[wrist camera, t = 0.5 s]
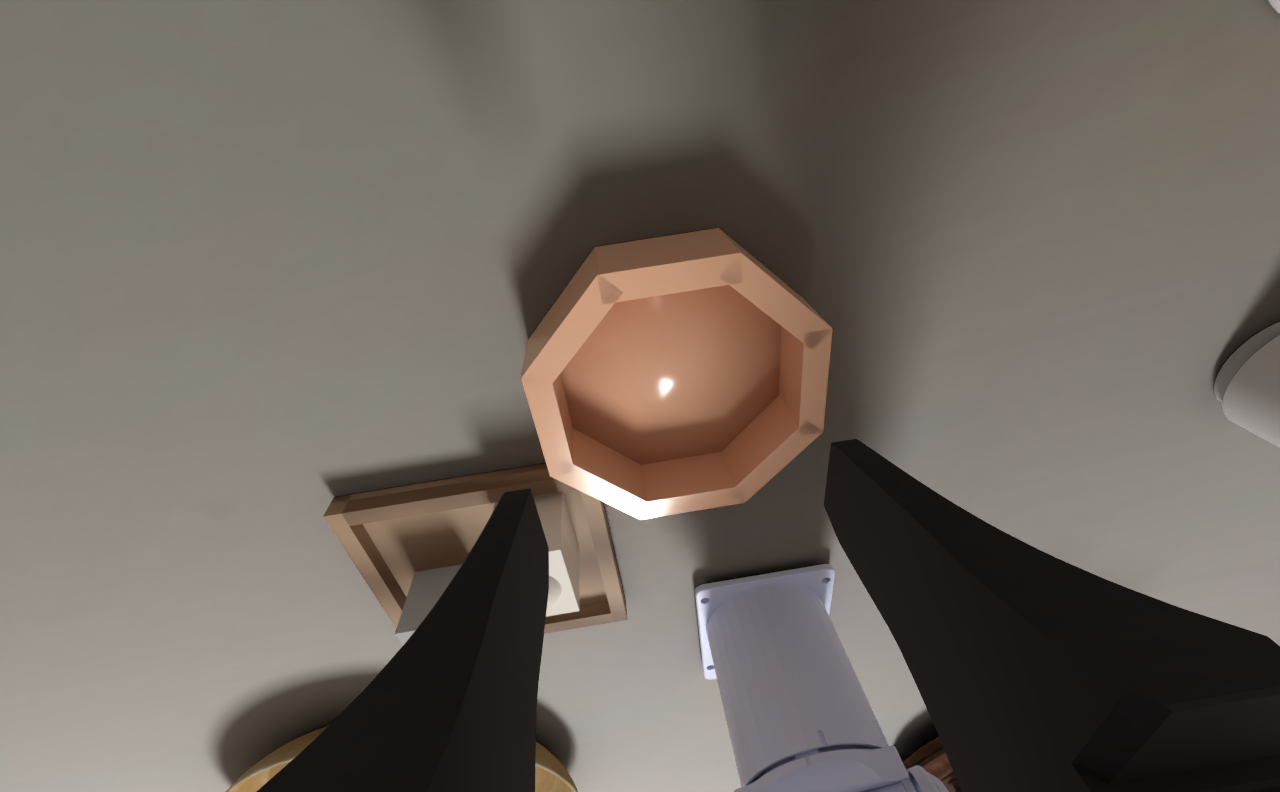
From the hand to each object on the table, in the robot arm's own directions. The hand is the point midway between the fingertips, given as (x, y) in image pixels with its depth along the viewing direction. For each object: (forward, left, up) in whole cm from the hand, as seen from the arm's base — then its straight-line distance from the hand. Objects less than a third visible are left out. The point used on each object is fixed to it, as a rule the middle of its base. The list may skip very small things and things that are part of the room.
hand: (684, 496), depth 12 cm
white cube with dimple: (-13, +12, -9) cm, 20 cm away
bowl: (-2, -1, -10) cm, 10 cm away
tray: (-12, +9, -10) cm, 18 cm away
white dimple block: (-10, +6, -9) cm, 15 cm away
